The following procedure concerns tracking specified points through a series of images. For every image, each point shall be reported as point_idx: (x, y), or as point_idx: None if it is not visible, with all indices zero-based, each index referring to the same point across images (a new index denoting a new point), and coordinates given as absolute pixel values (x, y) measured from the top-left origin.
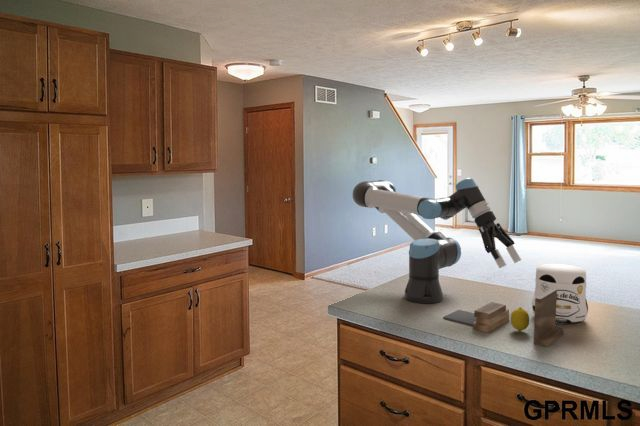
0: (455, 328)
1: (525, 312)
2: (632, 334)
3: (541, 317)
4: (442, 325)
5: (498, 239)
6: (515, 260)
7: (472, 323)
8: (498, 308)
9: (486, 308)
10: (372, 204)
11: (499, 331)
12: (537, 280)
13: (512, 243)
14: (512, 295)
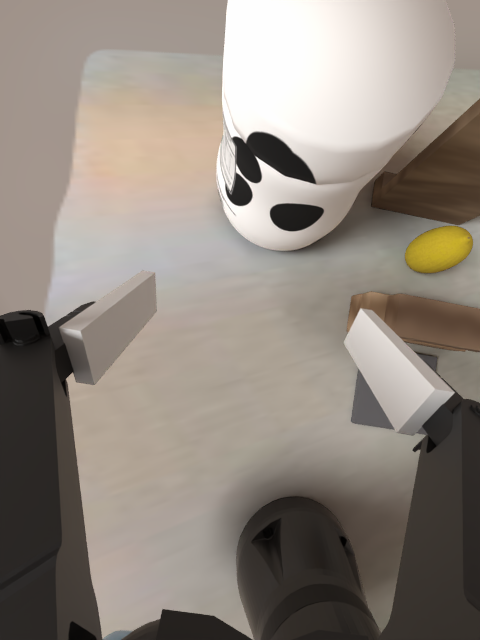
0: (468, 383)
1: (462, 228)
2: None
3: None
4: None
5: (83, 518)
6: (151, 304)
7: (433, 358)
8: (442, 303)
9: (459, 331)
10: None
11: (432, 297)
12: (368, 178)
13: (32, 332)
14: None
